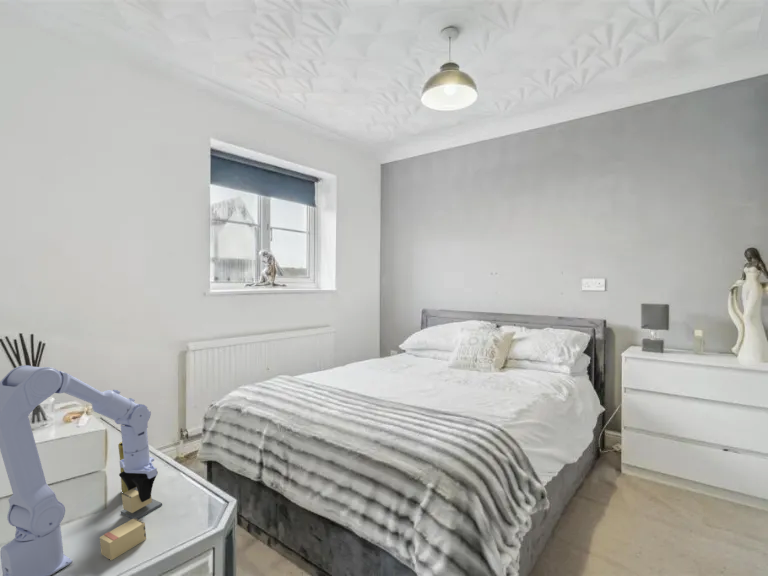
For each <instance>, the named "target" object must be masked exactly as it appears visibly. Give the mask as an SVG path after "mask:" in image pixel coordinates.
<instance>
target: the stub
mask: <svg viewBox="0 0 768 576" xmlns="http://www.w3.org/2000/svg"><path fill="white" fill-rule="evenodd" d="M151 498H152V496H151V497H150V499H148V500H146V501H144V502H141V500H140V497H139V493H138V490H137V487H135V488H133V489H131V490H129V491H127V492H125V493H123V494H122V493H121V501H122V510H124V509H125V510H127V511H129V512H131V513H133V512H135V511H137V510H139V509H141V508H142V507H144V506H146V505H148V504H150V503H152V499H153V498H152V499H151Z"/></svg>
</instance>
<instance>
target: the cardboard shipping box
mask: <svg viewBox="0 0 768 576" xmlns="http://www.w3.org/2000/svg"><path fill="white" fill-rule="evenodd" d="M146 531H147V530H146V522H144V521H142V520H140V519H136V518H133V519H130V520H128V521H126V522H125V523H123V524H121V525H119V526H117V527H115V528H113V529H112V530H109V531H107V532H105V533H103V535H101V536H99V544H100V552H101V554H100V555H102V556H103V557H105V558H107V559H108V560H109V559H110V560H109V561H111V562H112V561H113V560H115V559H116V558H118V557H120V556H121V555H123V554H125V553H127V552H128V551H130V550H131V549H133V548H134V547H136V546H138V545H139V544H141V543H142V542H144V541H146V540H147V534H146V533H147V532H146Z"/></svg>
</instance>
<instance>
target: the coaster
mask: <svg viewBox="0 0 768 576" xmlns="http://www.w3.org/2000/svg"><path fill="white" fill-rule="evenodd" d="M151 499H152V503H150V504H148V505H146V506H144V507H142V508H141V509H139V510H137V511H135V512H133V513H131V512H129V511H127V510H125V509H121V511H120V513H121V514H122V515H124V516H126V517H128V518H130V520H132V519H133V518H136V519H138V520H140V518H143V517H144V516H145V515H147V514H150V513H151V512H153V511H155V510H156V509H158V508H160V507H162V506H163V502H160V501H159V500H156V499H154V498H152V497H151Z"/></svg>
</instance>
